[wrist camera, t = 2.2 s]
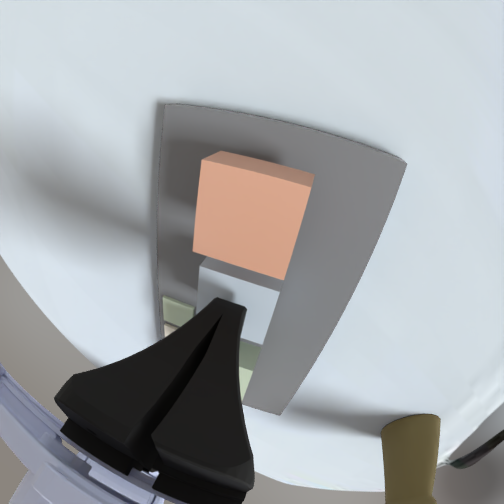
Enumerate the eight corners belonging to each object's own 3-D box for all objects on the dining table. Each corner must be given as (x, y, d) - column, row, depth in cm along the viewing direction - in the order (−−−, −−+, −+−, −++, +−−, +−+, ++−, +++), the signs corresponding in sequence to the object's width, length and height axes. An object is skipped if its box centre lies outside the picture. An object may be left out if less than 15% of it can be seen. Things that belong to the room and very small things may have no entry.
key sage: (250, 379, 16) (242, 400, 15) (198, 361, 16) (187, 380, 15) (261, 347, 14) (253, 371, 13) (200, 326, 14) (188, 347, 13)
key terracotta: (291, 257, 11) (283, 280, 10) (210, 232, 11) (192, 251, 10) (314, 174, 9) (311, 187, 8) (221, 150, 10) (201, 159, 8)
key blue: (269, 322, 14) (262, 344, 13) (208, 301, 15) (195, 321, 13) (286, 269, 12) (280, 292, 11) (214, 247, 13) (199, 266, 11)
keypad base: (282, 405, 21) (279, 417, 20) (170, 366, 22) (164, 376, 21) (401, 158, 10) (408, 164, 9) (176, 103, 11) (162, 105, 10)
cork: (368, 436, 21) (354, 537, 12) (408, 410, 17) (402, 531, 8) (412, 442, 20) (406, 532, 11) (452, 417, 17) (454, 521, 8)
